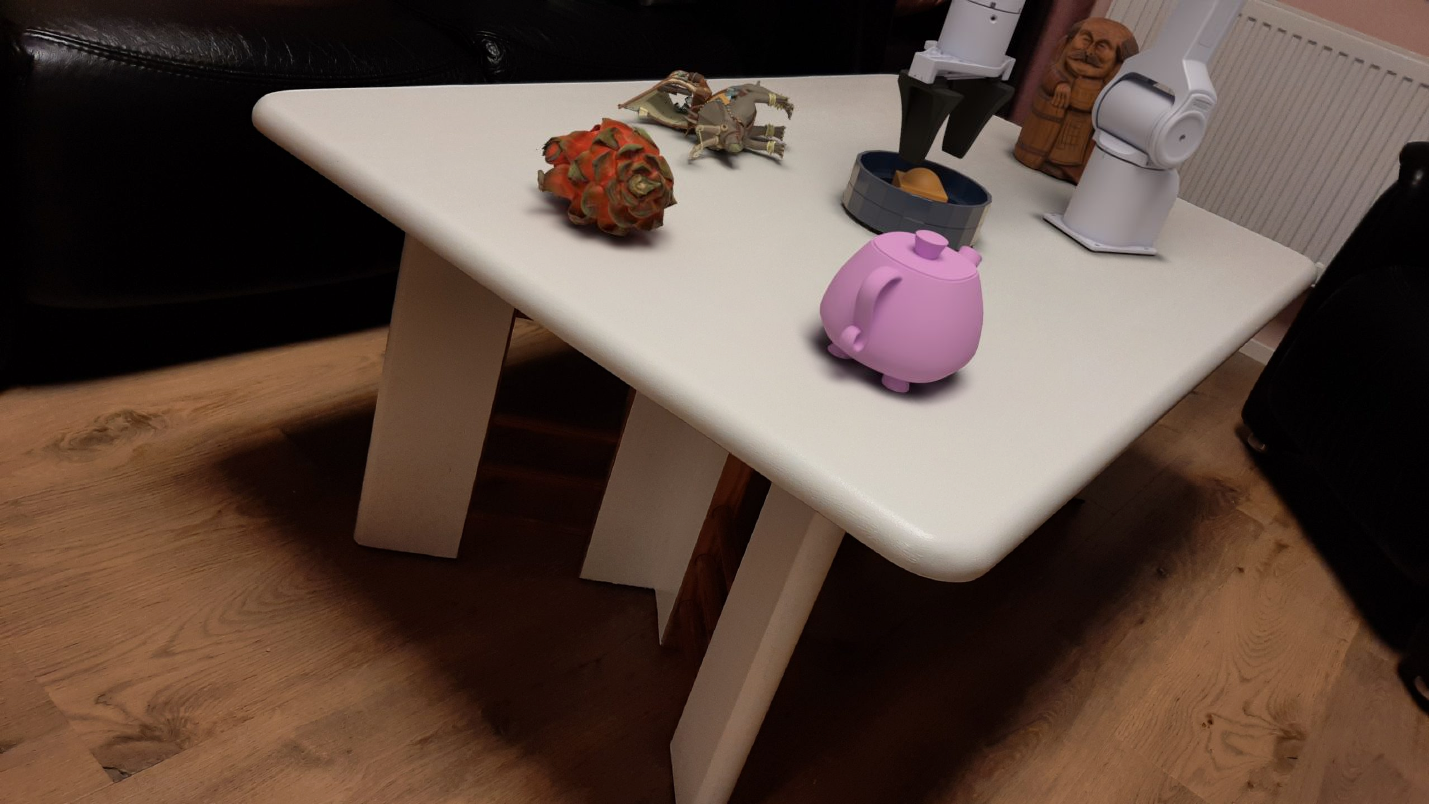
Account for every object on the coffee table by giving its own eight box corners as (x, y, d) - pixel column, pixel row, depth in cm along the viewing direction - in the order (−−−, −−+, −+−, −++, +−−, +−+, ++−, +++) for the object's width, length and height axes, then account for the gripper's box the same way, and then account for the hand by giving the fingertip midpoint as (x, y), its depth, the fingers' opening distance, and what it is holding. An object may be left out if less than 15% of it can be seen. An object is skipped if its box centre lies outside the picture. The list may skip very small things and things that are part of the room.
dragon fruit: (653, 281, 76) (536, 236, 82) (717, 200, 79) (599, 163, 85) (616, 199, 69) (491, 156, 75) (687, 114, 72) (561, 80, 78)
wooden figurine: (998, 155, 127) (1058, 5, 118) (1016, 149, 132) (1075, 4, 123) (1088, 192, 123) (1158, 39, 114) (1103, 185, 128) (1171, 37, 119)
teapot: (769, 345, 68) (810, 214, 64) (887, 303, 79) (929, 188, 75) (898, 425, 63) (952, 290, 59) (1004, 368, 74) (1057, 251, 70)
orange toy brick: (885, 202, 99) (901, 155, 97) (929, 214, 99) (946, 168, 97) (890, 224, 92) (907, 174, 90) (938, 238, 92) (956, 188, 90)
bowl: (925, 199, 104) (940, 156, 102) (1000, 257, 95) (1019, 211, 93) (817, 189, 99) (832, 144, 96) (886, 250, 89) (904, 201, 87)
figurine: (799, 135, 93) (614, 90, 92) (781, 197, 96) (603, 154, 95) (796, 69, 110) (639, 30, 108) (781, 124, 113) (629, 86, 111)
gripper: (987, -8, 94) (935, 136, 101) (903, -16, 83) (851, 145, 90) (1056, 17, 90) (997, 164, 97) (977, 12, 80) (917, 178, 87)
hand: (931, 157), depth 94 cm, fingers open, 7 cm apart
